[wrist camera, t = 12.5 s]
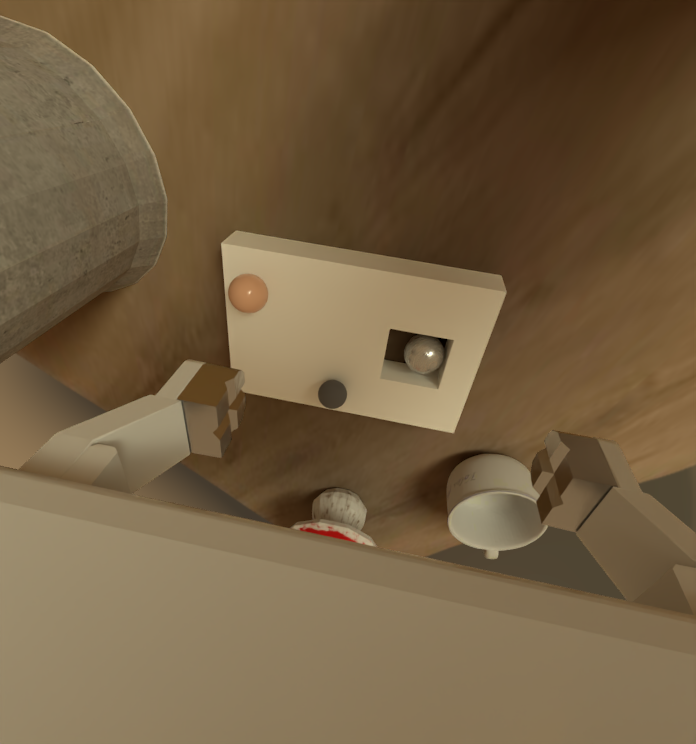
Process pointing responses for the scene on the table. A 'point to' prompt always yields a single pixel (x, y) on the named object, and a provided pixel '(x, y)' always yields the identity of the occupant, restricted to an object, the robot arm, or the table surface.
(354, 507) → the decorative mushroom
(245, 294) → the terracotta ball
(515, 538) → the teacup
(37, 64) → the pitcher
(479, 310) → the white slab
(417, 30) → the table surface
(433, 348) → the steel ball
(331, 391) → the black rubber ball
